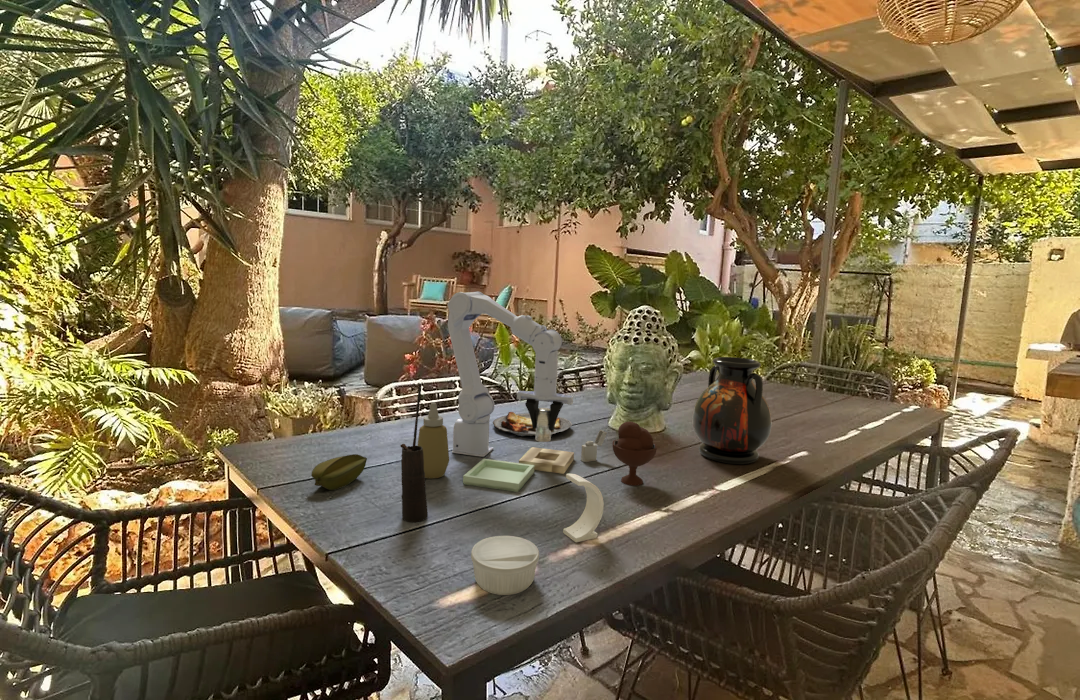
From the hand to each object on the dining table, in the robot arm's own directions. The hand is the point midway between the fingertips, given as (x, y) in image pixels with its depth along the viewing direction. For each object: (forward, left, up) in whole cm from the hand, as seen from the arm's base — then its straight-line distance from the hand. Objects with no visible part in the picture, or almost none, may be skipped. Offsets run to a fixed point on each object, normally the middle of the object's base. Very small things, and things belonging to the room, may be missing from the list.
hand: (543, 428), depth 152 cm
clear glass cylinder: (0, 0, -3) cm, 3 cm away
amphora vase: (+48, +28, -10) cm, 56 cm away
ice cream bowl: (+24, -3, -10) cm, 26 cm away
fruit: (-40, -30, -10) cm, 51 cm away
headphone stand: (+18, -36, -10) cm, 42 cm away
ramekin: (+9, -57, -10) cm, 59 cm away
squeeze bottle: (-23, -17, -10) cm, 30 cm away
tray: (-7, -13, -10) cm, 18 cm away
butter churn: (-17, -40, -10) cm, 45 cm away
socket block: (+1, +2, -10) cm, 10 cm away
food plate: (-12, +33, -10) cm, 36 cm away
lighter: (+12, +10, -10) cm, 18 cm away
